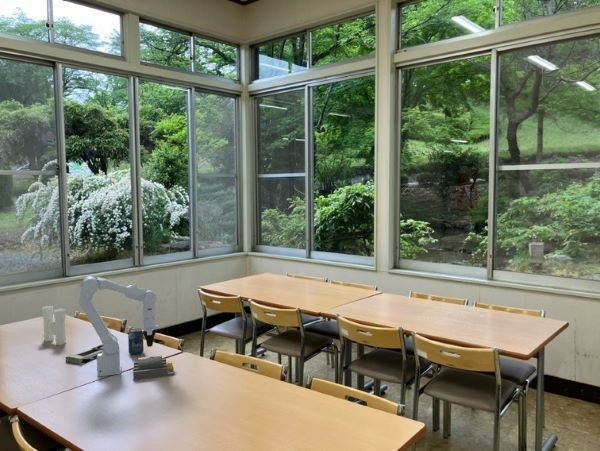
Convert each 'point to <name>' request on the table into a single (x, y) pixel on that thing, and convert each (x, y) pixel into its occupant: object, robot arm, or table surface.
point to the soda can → (135, 342)
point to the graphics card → (85, 355)
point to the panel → (150, 361)
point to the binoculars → (54, 324)
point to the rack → (153, 370)
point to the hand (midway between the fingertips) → (149, 346)
